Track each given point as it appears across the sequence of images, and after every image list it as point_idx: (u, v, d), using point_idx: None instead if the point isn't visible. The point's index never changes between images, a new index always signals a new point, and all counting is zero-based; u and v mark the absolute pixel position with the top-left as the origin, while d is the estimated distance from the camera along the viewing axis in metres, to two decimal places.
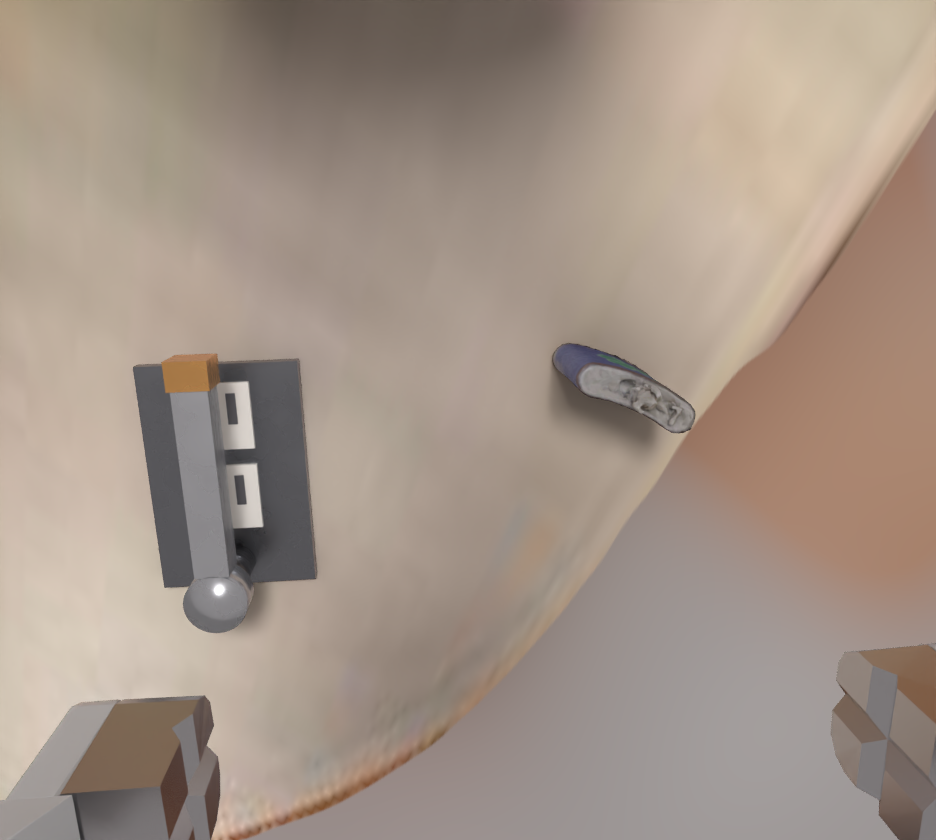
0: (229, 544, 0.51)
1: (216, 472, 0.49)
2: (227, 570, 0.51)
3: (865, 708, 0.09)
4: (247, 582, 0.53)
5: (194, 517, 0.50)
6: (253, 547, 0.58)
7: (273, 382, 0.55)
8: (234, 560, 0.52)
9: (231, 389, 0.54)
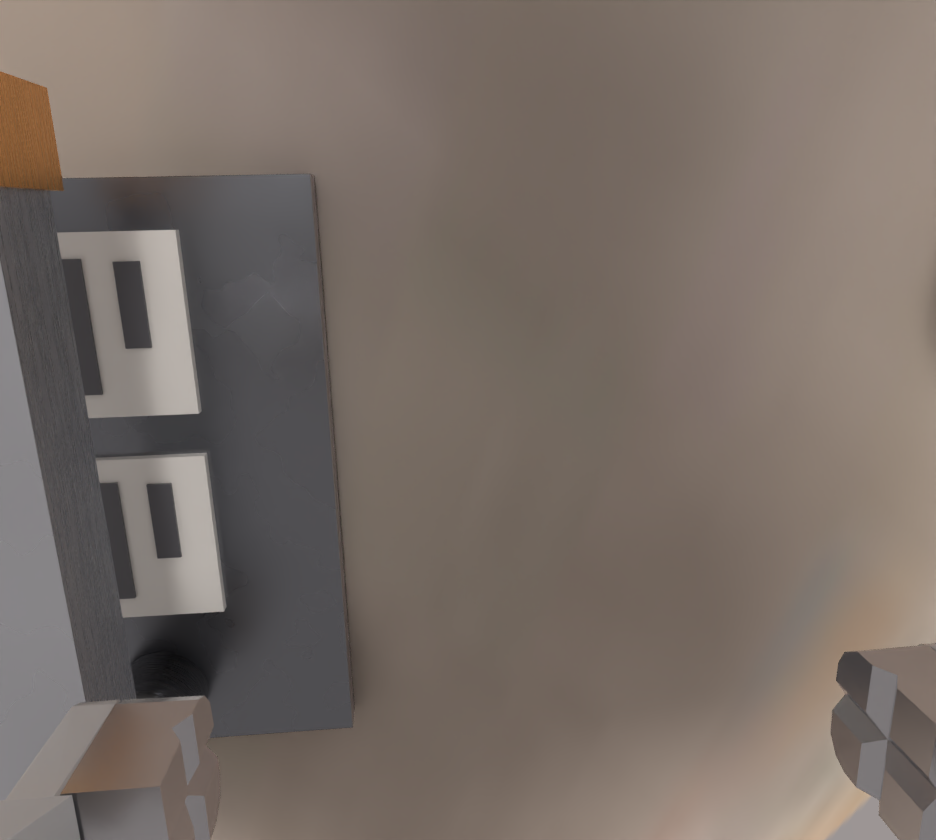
0: None
1: (40, 484, 0.14)
2: None
3: (865, 708, 0.09)
4: None
5: None
6: (203, 658, 0.24)
7: (245, 232, 0.20)
8: None
9: (131, 250, 0.20)
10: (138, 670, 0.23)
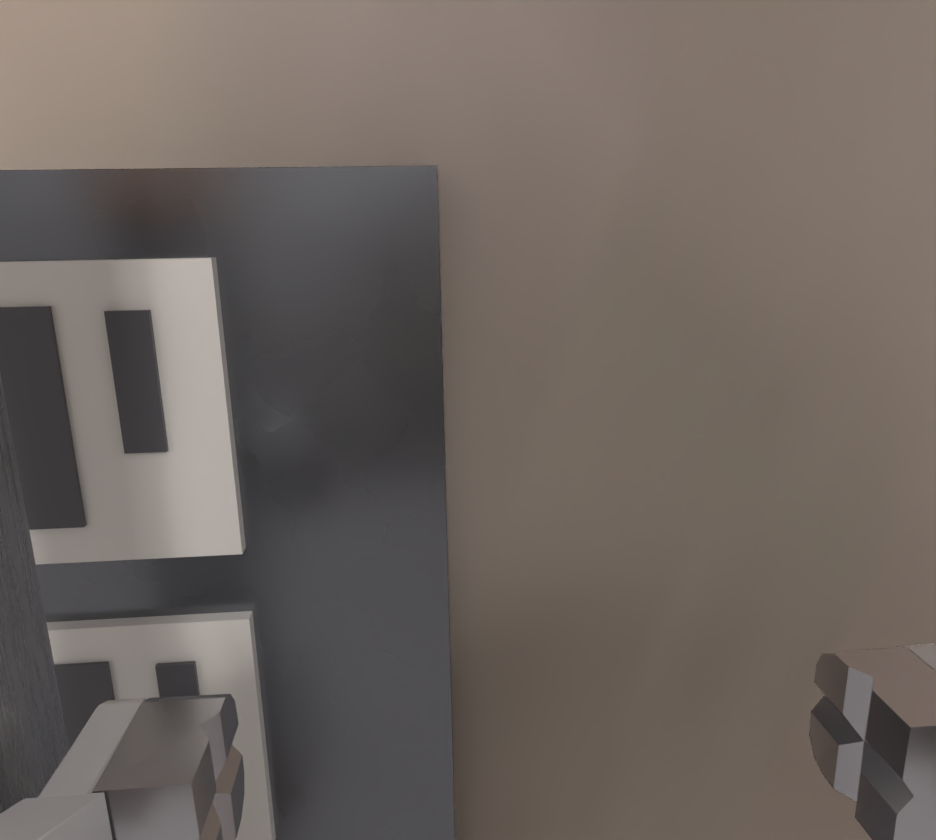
0: None
1: None
2: None
3: (842, 710, 0.09)
4: None
5: None
6: None
7: (326, 263, 0.12)
8: None
9: (136, 292, 0.12)
10: None
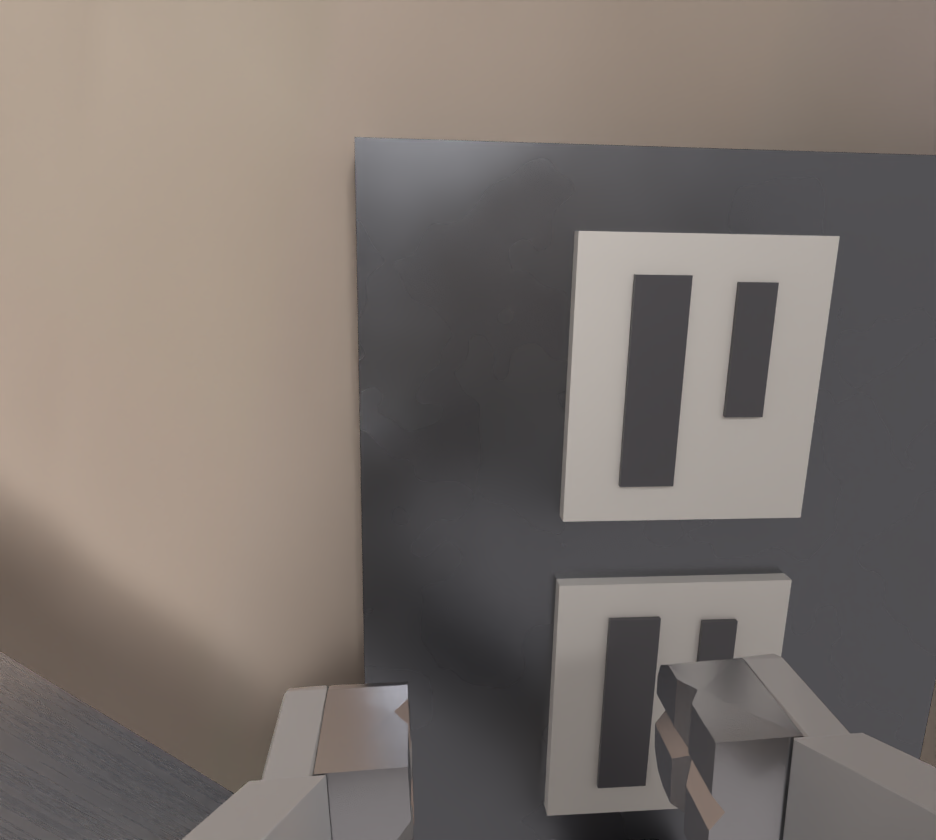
0: None
1: None
2: None
3: (673, 723, 0.09)
4: None
5: None
6: None
7: (923, 245, 0.13)
8: None
9: (767, 265, 0.13)
10: None
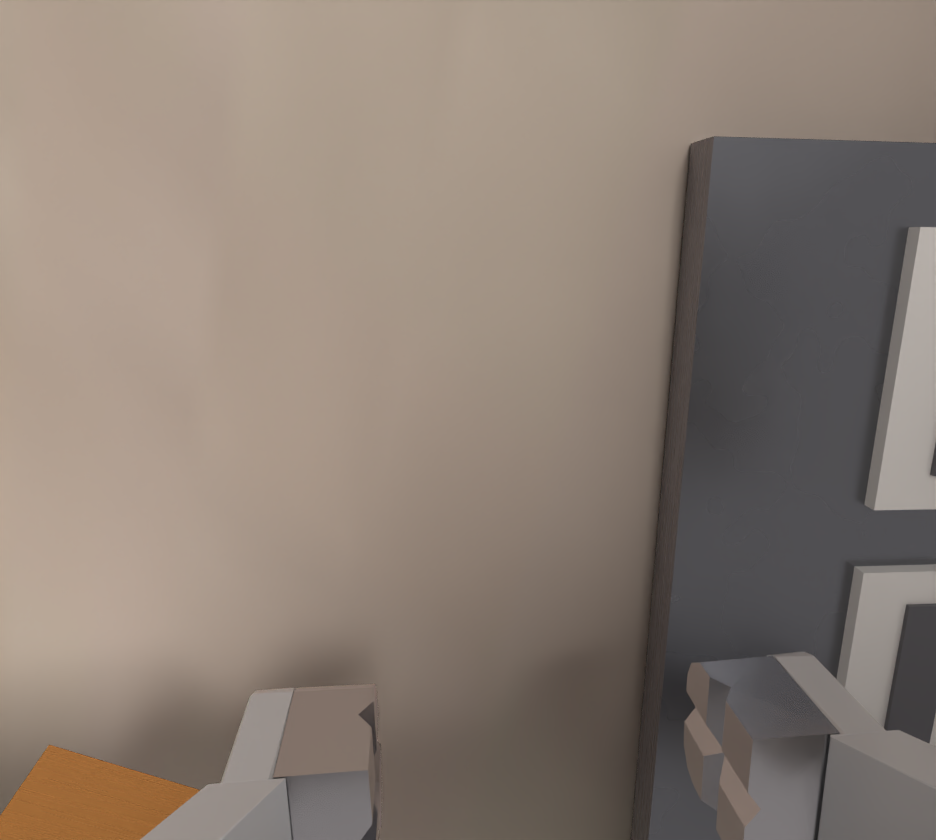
0: None
1: None
2: None
3: (705, 720, 0.09)
4: None
5: None
6: None
7: None
8: None
9: None
10: None
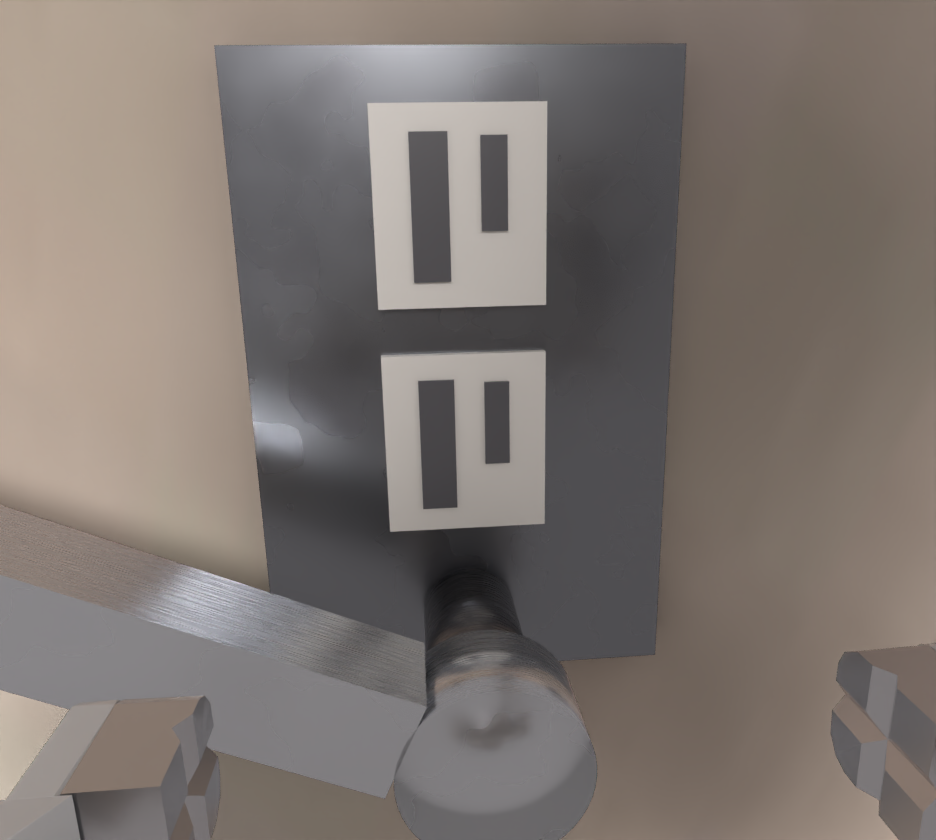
0: (337, 650, 0.16)
1: (43, 591, 0.14)
2: (402, 702, 0.15)
3: (865, 708, 0.09)
4: (488, 651, 0.16)
5: None
6: (512, 577, 0.22)
7: (612, 107, 0.19)
8: (407, 652, 0.17)
9: (499, 123, 0.19)
10: (458, 584, 0.21)
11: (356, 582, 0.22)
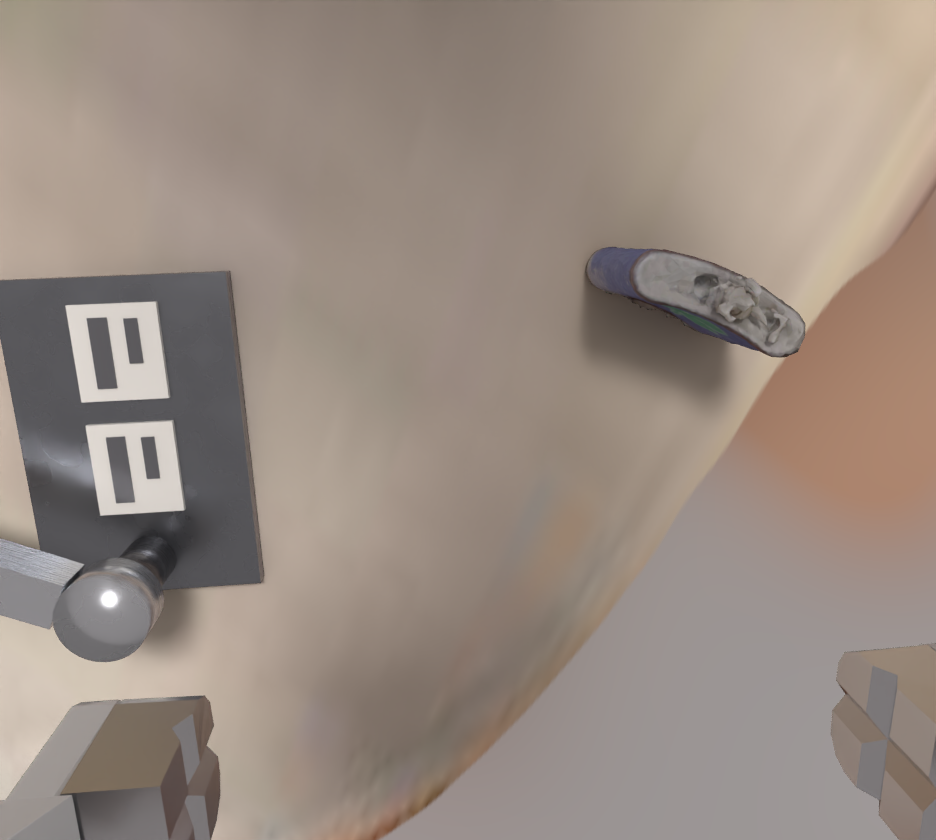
0: (29, 563, 0.35)
1: None
2: (51, 583, 0.34)
3: (865, 708, 0.09)
4: (106, 565, 0.36)
5: None
6: (173, 539, 0.42)
7: (192, 302, 0.39)
8: (70, 567, 0.36)
9: (132, 312, 0.38)
10: (136, 542, 0.41)
11: (87, 543, 0.41)
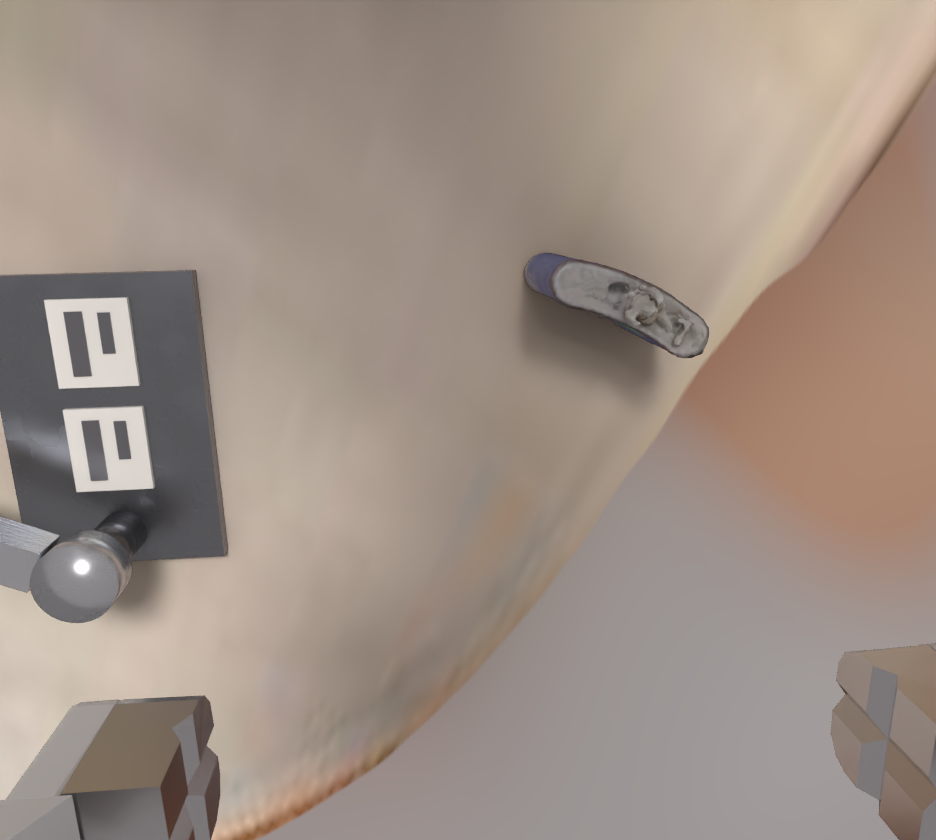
0: (8, 533, 0.39)
1: None
2: (28, 552, 0.38)
3: (865, 708, 0.09)
4: (79, 536, 0.40)
5: None
6: (143, 515, 0.46)
7: (160, 298, 0.42)
8: (46, 537, 0.40)
9: (105, 307, 0.42)
10: (109, 517, 0.45)
11: (64, 517, 0.45)
